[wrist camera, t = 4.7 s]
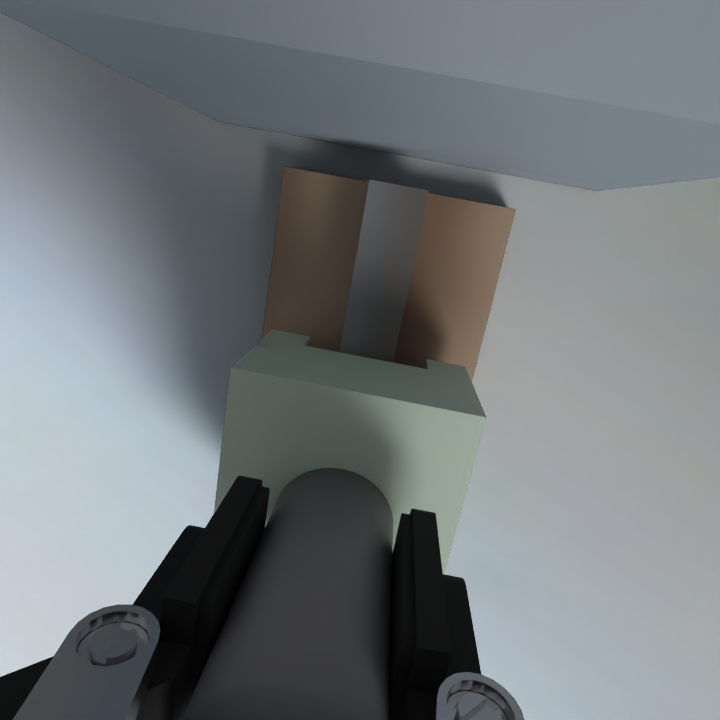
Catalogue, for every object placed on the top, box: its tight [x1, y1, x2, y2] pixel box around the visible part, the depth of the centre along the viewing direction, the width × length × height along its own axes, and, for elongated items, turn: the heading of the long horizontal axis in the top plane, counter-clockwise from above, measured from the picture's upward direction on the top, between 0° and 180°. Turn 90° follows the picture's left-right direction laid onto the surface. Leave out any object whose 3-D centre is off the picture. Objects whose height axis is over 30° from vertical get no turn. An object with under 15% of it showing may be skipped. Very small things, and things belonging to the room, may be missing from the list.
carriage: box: [182, 330, 486, 720], centre depth 12 cm, size 6×7×10 cm
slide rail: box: [262, 166, 516, 382], centre depth 18 cm, size 7×21×3 cm, turn 170°
